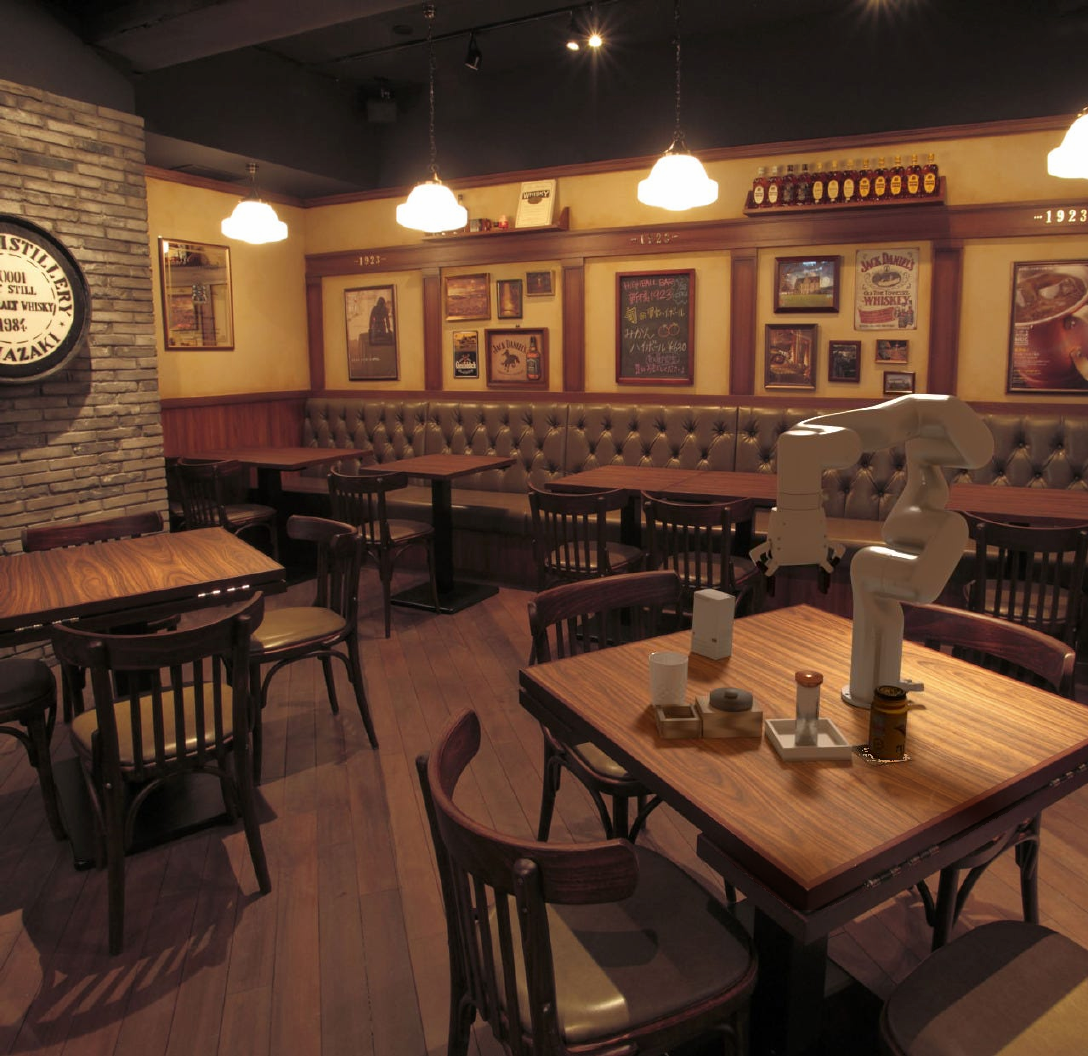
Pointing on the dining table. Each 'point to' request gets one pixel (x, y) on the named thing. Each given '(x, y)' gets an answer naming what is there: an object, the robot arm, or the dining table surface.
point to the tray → (828, 746)
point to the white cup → (668, 677)
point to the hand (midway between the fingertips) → (796, 593)
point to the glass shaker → (807, 707)
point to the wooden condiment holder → (712, 716)
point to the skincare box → (712, 623)
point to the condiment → (886, 726)
